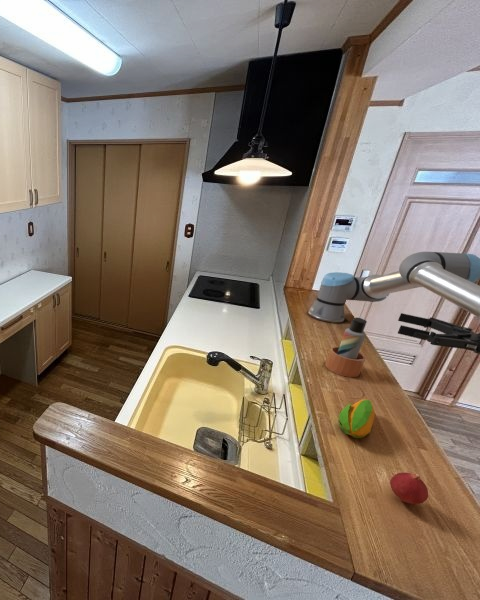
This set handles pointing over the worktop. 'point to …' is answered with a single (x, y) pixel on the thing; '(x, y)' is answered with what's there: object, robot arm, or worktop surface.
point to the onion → (409, 488)
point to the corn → (357, 418)
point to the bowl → (344, 363)
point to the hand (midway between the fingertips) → (399, 322)
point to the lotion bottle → (352, 339)
